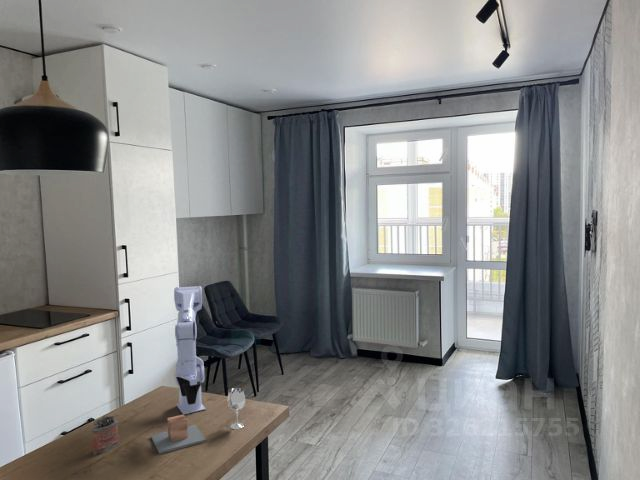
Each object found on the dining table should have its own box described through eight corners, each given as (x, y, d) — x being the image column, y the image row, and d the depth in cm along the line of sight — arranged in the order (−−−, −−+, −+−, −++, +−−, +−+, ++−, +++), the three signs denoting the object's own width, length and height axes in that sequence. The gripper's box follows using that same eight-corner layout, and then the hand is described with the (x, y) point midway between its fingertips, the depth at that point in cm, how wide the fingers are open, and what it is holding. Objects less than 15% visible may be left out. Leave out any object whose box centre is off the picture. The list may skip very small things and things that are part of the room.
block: (168, 436, 152) (167, 418, 151) (184, 432, 154) (183, 414, 154) (171, 442, 148) (170, 423, 148) (187, 437, 151) (186, 419, 150)
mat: (150, 437, 153) (150, 435, 153) (195, 426, 160) (194, 424, 160) (159, 454, 142) (159, 451, 142) (206, 441, 149) (205, 439, 149)
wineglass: (242, 430, 156) (241, 394, 156) (225, 429, 158) (224, 393, 157) (248, 422, 162) (247, 388, 161) (232, 421, 163) (231, 386, 162)
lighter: (115, 441, 150) (113, 410, 150) (121, 444, 148) (120, 413, 148) (90, 452, 144) (88, 420, 143) (96, 456, 142) (95, 423, 141)
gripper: (169, 354, 160) (170, 394, 161) (180, 367, 148) (181, 410, 149) (190, 351, 164) (191, 390, 165) (202, 363, 151) (204, 405, 152)
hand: (188, 399), depth 157 cm, fingers open, 7 cm apart
